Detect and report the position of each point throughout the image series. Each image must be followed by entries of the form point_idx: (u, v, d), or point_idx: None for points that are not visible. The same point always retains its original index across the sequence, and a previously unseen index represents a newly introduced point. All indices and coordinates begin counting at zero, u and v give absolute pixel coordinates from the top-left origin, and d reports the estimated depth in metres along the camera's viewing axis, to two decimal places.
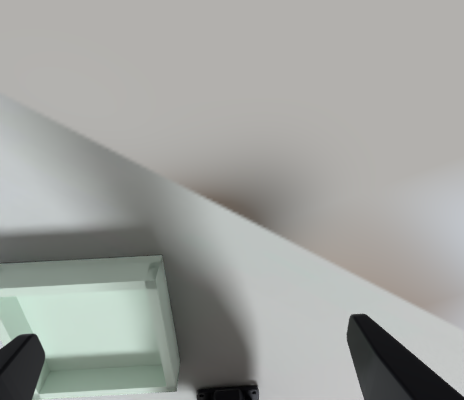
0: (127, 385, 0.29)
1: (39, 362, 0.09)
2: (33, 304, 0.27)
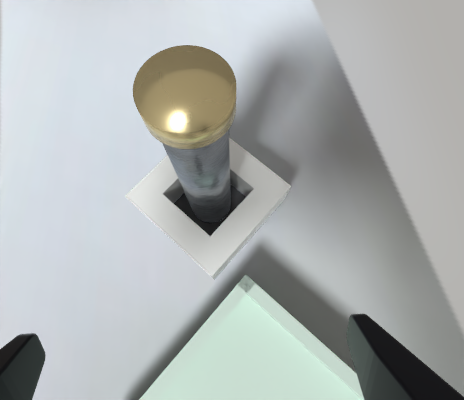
0: None
1: (39, 362, 0.09)
2: (229, 340, 0.21)
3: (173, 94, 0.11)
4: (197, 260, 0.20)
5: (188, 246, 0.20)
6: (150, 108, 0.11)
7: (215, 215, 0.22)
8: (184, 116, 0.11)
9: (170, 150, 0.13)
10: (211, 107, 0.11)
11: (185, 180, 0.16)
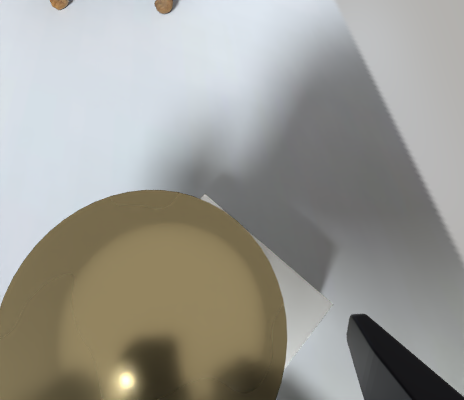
0: None
1: None
2: None
3: (106, 355, 0.04)
4: None
5: None
6: None
7: None
8: None
9: None
10: None
11: None
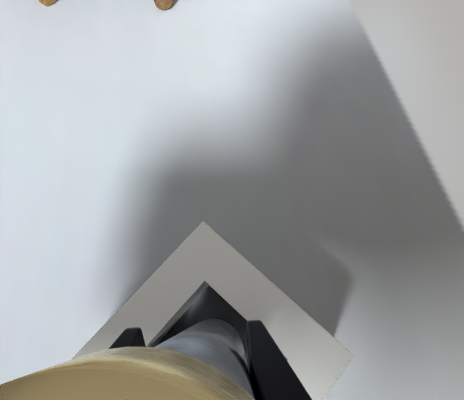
0: None
1: None
2: None
3: None
4: None
5: None
6: None
7: None
8: None
9: None
10: None
11: None
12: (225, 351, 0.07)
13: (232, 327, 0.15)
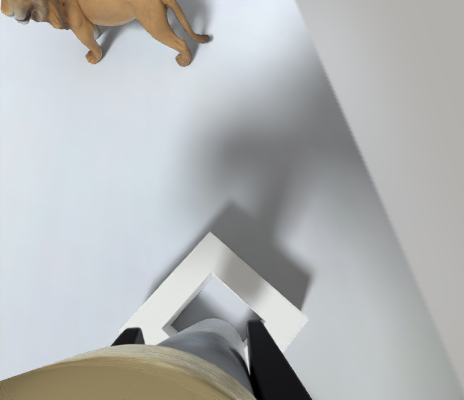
0: None
1: None
2: None
3: None
4: None
5: None
6: None
7: None
8: None
9: None
10: None
11: None
12: (225, 350, 0.07)
13: (232, 327, 0.15)
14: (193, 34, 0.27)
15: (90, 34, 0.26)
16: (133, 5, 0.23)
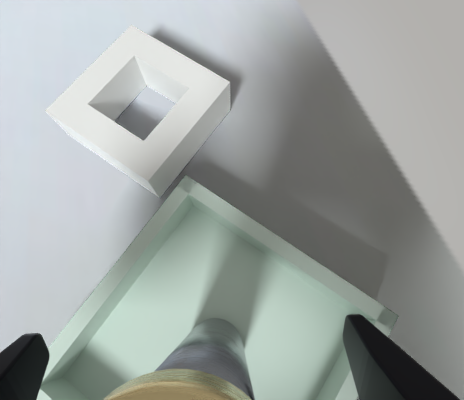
0: None
1: (43, 362, 0.09)
2: (178, 255, 0.19)
3: None
4: (130, 166, 0.18)
5: (119, 154, 0.18)
6: None
7: None
8: None
9: None
10: None
11: None
12: (230, 357, 0.09)
13: (233, 326, 0.17)
14: None
15: None
16: None
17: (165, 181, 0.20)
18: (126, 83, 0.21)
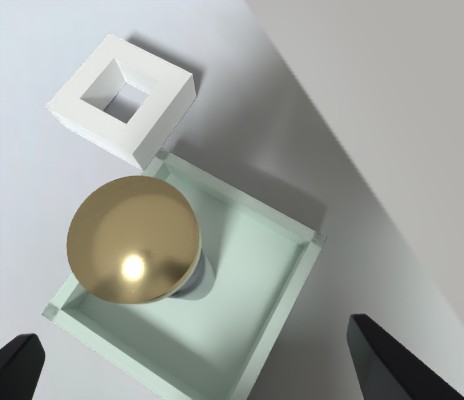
0: (167, 380, 0.18)
1: (39, 362, 0.09)
2: None
3: (118, 247, 0.09)
4: (117, 144, 0.23)
5: (108, 135, 0.23)
6: (89, 270, 0.09)
7: (197, 298, 0.20)
8: (133, 279, 0.08)
9: None
10: (167, 263, 0.09)
11: None
12: None
13: None
14: None
15: None
16: None
17: (146, 156, 0.25)
18: (109, 81, 0.26)
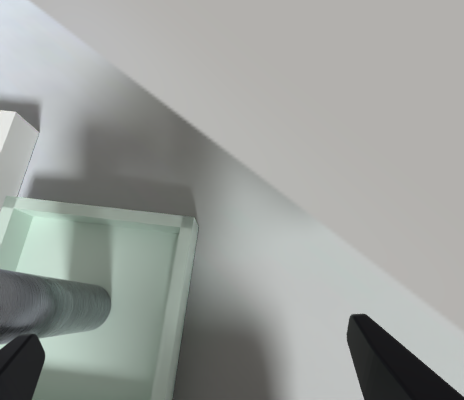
0: None
1: (39, 362, 0.09)
2: (35, 258, 0.23)
3: None
4: None
5: None
6: None
7: (89, 325, 0.19)
8: None
9: None
10: None
11: None
12: None
13: (93, 284, 0.21)
14: None
15: None
16: None
17: None
18: None
